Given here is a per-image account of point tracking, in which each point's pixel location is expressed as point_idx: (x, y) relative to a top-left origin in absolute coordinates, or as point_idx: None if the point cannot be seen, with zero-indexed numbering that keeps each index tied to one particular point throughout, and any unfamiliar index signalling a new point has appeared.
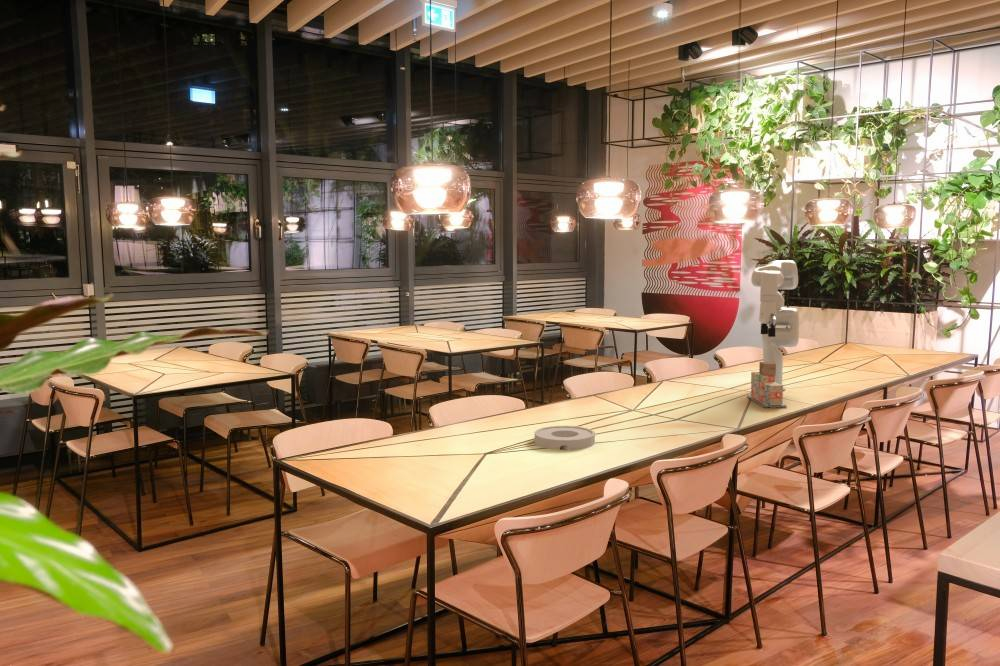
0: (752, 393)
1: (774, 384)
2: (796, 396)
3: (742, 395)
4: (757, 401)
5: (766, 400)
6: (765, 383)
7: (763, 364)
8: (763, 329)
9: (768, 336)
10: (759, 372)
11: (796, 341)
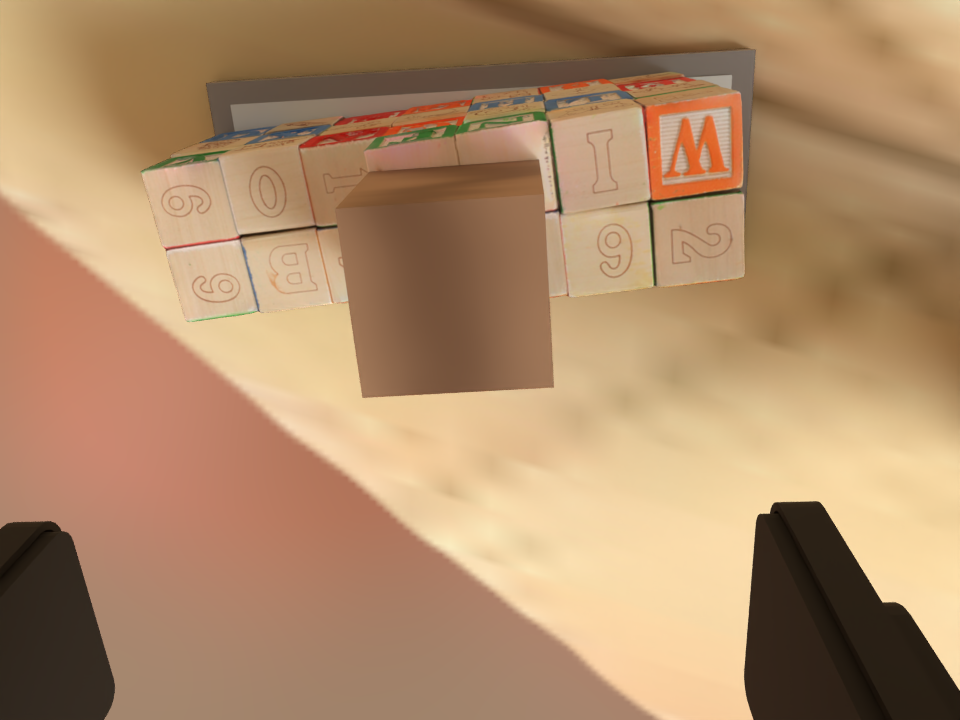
0: (637, 79)
1: (225, 242)
2: (743, 506)
3: (879, 31)
4: (433, 74)
5: (276, 127)
6: (285, 154)
7: (356, 204)
8: (805, 689)
9: (20, 522)
10: (534, 163)
11: None
